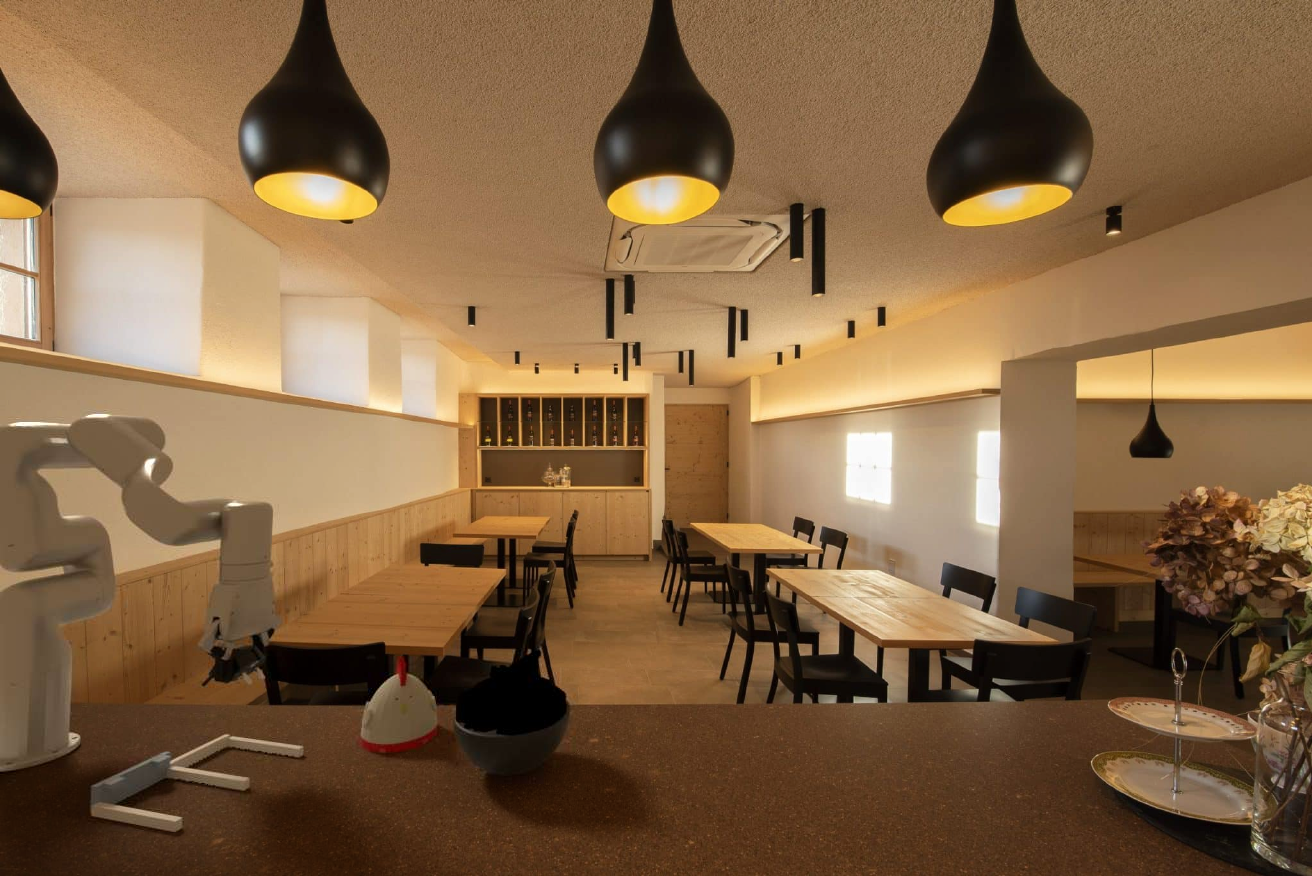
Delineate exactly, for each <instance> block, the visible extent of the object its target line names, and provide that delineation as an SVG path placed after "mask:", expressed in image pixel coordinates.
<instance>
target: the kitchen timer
mask: <svg viewBox="0 0 1312 876" xmlns="http://www.w3.org/2000/svg"><path fill="white" fill-rule="evenodd" d="M395 665H396V667H395V668H396V669H395V670H396V674H394V675H393V676H391V677H389V678H387V680H386V681H384V682H383V683H382V684H381V685H380V686H379V688H378V689H377V690H376V691H375V693H374V695H372V698H371V699H370V701H366V703H365V707H364V710H363V716H362V719H361V729H360V737H359V738H360V739H359V740H360V741H359V742H360V743H359V744H360V746H361V747H362V748H363V749H364V748H365V749H364V750H366V749H367V750H366V751H369V752H372V751H373V752H372V753H378V754H380V753H381V754H388V753H389V754H391V753H399V752H398V751H400V752H403V751H408V749H409V750H413V749H415V748H418V747H420V746H423V745H424V744H426V743H429V742H430V741H431V740H432V739H433V738H435V737H436V735H437V734H438V731H439V730H438V729H439V727H438V726H439V725H438V724H439V723H438V715H437V714H438V713H437V711H438V709H437V702H436V697H435V695H433V693H432V691H431V690H429V689H428V687H427V686H426V685H425V684H424V683H423V682H422V681H421V680H420V679H419V678H417V677H416V676H414V675H413V674H409V673H408V672H407V663H406V662H405V657H404V656H398V660H397V663H395ZM414 747H415V748H414Z"/></svg>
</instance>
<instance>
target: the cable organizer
mask: <svg viewBox="0 0 1312 876" xmlns="http://www.w3.org/2000/svg"><path fill="white" fill-rule="evenodd" d="M225 747H226V748H232V747H236V748H235V749H238V748H240V749H239V750H245V749H247V751H252V750H253V751H252V752H258V751H262V752H261V753H265V752H267V753H266V754H272V753H277V754H276V755H279V754H281V755H280V756H285V755H288V757H292V756H294V757H293V758H300V757H302V756H303V755H304V746H302V745H296V744H289V743H283V742H282V743H281V742H274V741H267V740H261V739H254V738H246V737H240V736H234V735H232V736H231V734H226V733H225V734H223V735H221V736H219V737H217V738H215V739H212V740H211V741H208V742H206V743H205V744H202V745H200V746H198V747H195V748H194V749H192V750H190V751H188V752H186V753H184V754H181V755H180V756H177V757H176V758H174V759H172V755H171V752H170V751H163V752H162V753H159V754H157V755H155V756H153V757H150V758H149V759H147V760H144V761H142V762H140V763H137V764H135V765H134V766H131V767H130V768H127V769H125V770H122V771H121V772H119V773H117V774H114V775H112V776H110V777H108V778H106V779H103V780H101V781H99V782H97V783H95V784H92V785H91V787H90V806H89V807H90V808H89V809H90V811H89V812H90V814H91V815H90V816H91V817H94V818H95V817H96V818H100V819H107V820H111V821H116V822H120V823H121V822H122V823H127V824H132V825H137V826H143V827H148V828H152V829H157V830H158V829H159V830H162V831H168V832H173V833H176V832H178V831H179V830H181V829H183V816H182V817H181V816H177V815H171V814H166V813H159V812H154V811H149V810H143V809H141V808H140V809H138V808H133V807H128V806H122V805H118V803H120V802H122V801H123V800H126V799H127V797H128V798H129V797H131V796H134V795H135V794H137V793H139V792H141V791H143V790H145V789H147V788H149V787H151V786H153V785H155V784H157V783H159V782H161V781H163V780H165V779H166V778H167V779H171V778H173V780H177V779H182V780H181V781H183V780H185V781H184V782H189V781H194V782H193V783H195V782H198V783H197V784H201V783H205V784H204V785H207V784H208V785H209V786H213V785H215V787H219V788H224V789H232V790H236V791H237V790H238V791H242V792H243V791H246V790H247V789H249V788H250V780H251V779H250V777H245V776H239V775H233V774H228V773H227V774H226V773H221V772H214V771H207V770H201V769H197V768H196V769H195V768H189V767H190V766H192V765H194V764H196V763H198V762H200V761H202V760H204V759H206V758H208V757H210V756H212V755H214V754H216V753H217V752H216V751H218V752H220V751H221V750H220V749H222V750H224V749H225ZM223 748H224V749H223ZM248 749H250V750H248ZM215 752H216V753H215ZM213 753H214V754H213ZM211 754H212V755H211ZM209 755H210V756H209ZM207 756H208V757H207ZM203 758H204V759H203ZM199 760H200V761H199ZM193 763H194V764H193ZM189 765H190V766H189ZM186 767H187V768H186ZM164 778H165V779H164ZM162 779H163V780H162ZM160 780H161V781H160ZM158 781H159V782H158ZM154 783H155V784H154ZM150 785H151V786H150Z"/></svg>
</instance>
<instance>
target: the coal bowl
mask: <svg viewBox="0 0 1312 876" xmlns="http://www.w3.org/2000/svg"><path fill="white" fill-rule="evenodd" d="M541 657H542V651H541V650H540V649H536V650H534V651H531V652H530V653H527V654H526V655H525V656H523V657H520V658H519V659H518V660H517V662H513V663H511V664H510V665H509V666H507V665H505V664H500V665H499V666H497V665H496V666H495V665H492V666H491V668H490V673H489V676H490V677H488V678H486V679H484V680H480V681H479V682H477V683H476V685H474V686H473V687H472V688H470V689H469V690H467V691H462V692H461V695H460V696H459V699H458V701H457V702H456V704H455V713H454V714H453V730H454V731H453V732H454V734H455V738H456V742H457V744H458V745H459V748H460V750H461V752H462V753H463V754H464V755H465V757H466V758H467V759H468V761H469V762H471V763H472V764H473V765H474V766H475V767H476V768H479V769H480V770H481V771H483V772H486V773H488V774H491V775H496V776H501V777H503V776H504V777H508V776H518V775H522V774H525V773H527V772H530V771H532V770H534V769H535V768H537V767H539V766H540V765H542V764H544V762H546V761H547V760H548V759H549V758H550V757H551V756H553V754H554V753H555V751H556V750H557V749H558V748H559V747H560V744H561V743H562V741H563V739H564V737H565V734H566V732H567V730H568V727H569V723H570V717H571V710H572V709H571V704H570V703H569V701H568V700H567V694H566V692H565V691H564V690H563V689H562V688H560V687H559V686H558V685H555V684H552V681H551V679H549V678H545V677H543V676H541V675H540V674H539V669H540V664H539V659H540V658H541Z"/></svg>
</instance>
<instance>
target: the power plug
mask: <svg viewBox="0 0 1312 876" xmlns="http://www.w3.org/2000/svg"><path fill="white" fill-rule="evenodd" d="M250 645H251V644H250ZM250 645H249V644H248V645H247V644H240V645H237V646H234V647H233V650H232V653H231V656H230V658H233V675H232V676H233V679H232V681H231V682H236V681H237V682H238V680H239V679H240V680H241V679H243V680H244V681H245V683H246V684H247V685H248V686H251V685H252V684H253V680H252V679H251V677H250V675H251V674H252V673H254V672H255V674H256V675H257V677H258V678H259V680H260V681H263V680H265V679H266V676H265V675H264V673H263V672H262V670H260V669H259V666H261V665H262V664H263V663H264V661H265V662H266V660H267V659H266V656H265V657H264V655H263V654H262V653H261V651H260V650H259V648H258V647H257V646H256V645H254V646H250ZM214 671H215V664H214V665H213V666H212V668H211V669H210V671H209V672H208V677H206V679H205V680H204V681H203V682H202V683H201V686H202V687H206V685H208V684H209V682H211V681H212V680H213V679H214Z"/></svg>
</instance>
